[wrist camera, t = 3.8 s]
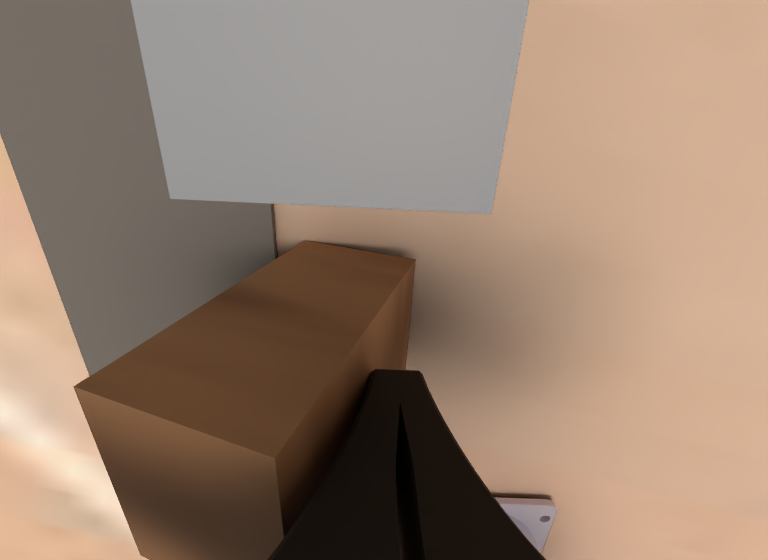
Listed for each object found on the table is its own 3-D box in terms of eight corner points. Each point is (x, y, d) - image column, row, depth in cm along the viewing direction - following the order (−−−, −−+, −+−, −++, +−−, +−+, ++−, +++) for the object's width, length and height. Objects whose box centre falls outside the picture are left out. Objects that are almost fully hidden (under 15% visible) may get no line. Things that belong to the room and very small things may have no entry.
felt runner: (288, 393, 16) (286, 398, 16) (100, 386, 16) (95, 391, 16) (238, -226, 9) (233, -236, 8) (-128, -250, 8) (-145, -261, 8)
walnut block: (404, 380, 15) (293, 630, 8) (310, 356, 16) (140, 555, 9) (415, 259, 12) (275, 458, 6) (305, 240, 13) (73, 386, 7)
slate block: (428, 140, 12) (491, 213, 5) (299, 134, 12) (169, 199, 5) (447, -67, 10) (617, -500, 3) (290, -76, 10) (20, -548, 3)
